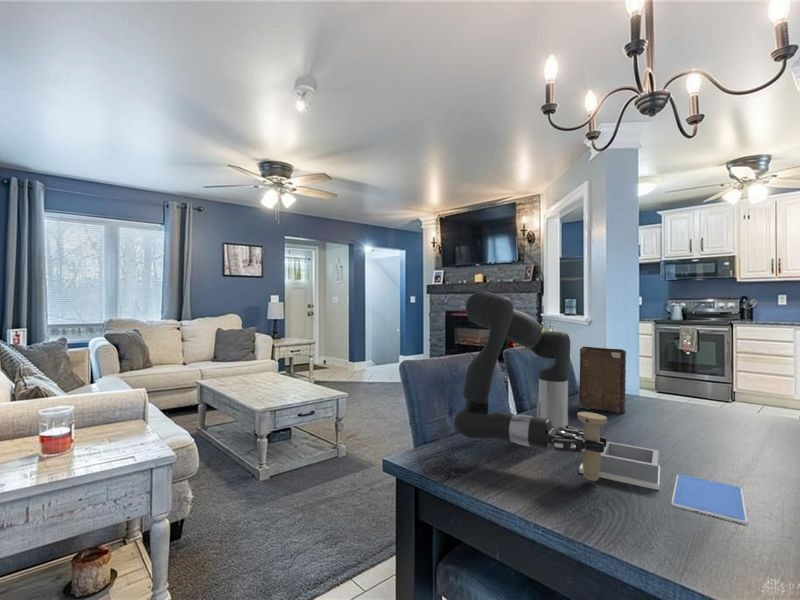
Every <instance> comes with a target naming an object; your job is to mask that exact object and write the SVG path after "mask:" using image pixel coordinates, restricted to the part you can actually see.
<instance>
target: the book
mask: <svg viewBox="0 0 800 600" xmlns="http://www.w3.org/2000/svg"><path fill="white" fill-rule="evenodd" d="M626 355H627V350H624V349H622V348H607V347H605V348H604V347H592V346H581V348H579V395H578V396H579V397H578V399H579V400H578V408H579V407H582V408H589V409H596V410H595V411H598V410H604V411H603V412H606V411H611V412H610V413H612V412H618V413H617V414H623V413H625V412H626V411H627V410H626V391H627V390H626V381H627V380H626V372H627V370H626V368H627V367H626V364H627V360H626V359H627V358H626V357H627V356H626ZM589 409H588V410H589Z"/></svg>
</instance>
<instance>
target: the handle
mask: <svg viewBox="0 0 800 600" xmlns="http://www.w3.org/2000/svg"><path fill="white" fill-rule="evenodd" d="M576 417H577V420H579V421H580V422H581V423H582V424H583V430H584V438H583V439H586V440H592V441H598V442H600V437H601V435H600V433H601V426H604V425H606V424H607V422H608V417H607V416H605V415H602V414H600V413H594V412H589V411H580V412H579V411H578V412H577V416H576ZM581 455H582V456H581V459H582V461H581V462H582V463H583V470H584V472H583V473H582V474H583V478H585V479H586V480H587V481H594V482H596V481H598V480H599V479H600V477H599V474H598V473H599V471H600V463H601V453H600V452H595V451H590V450H585V451H582V450H581ZM582 463H581V464H582Z"/></svg>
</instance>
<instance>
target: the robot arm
mask: <svg viewBox="0 0 800 600" xmlns="http://www.w3.org/2000/svg"><path fill="white" fill-rule="evenodd" d="M465 312H466V316H467V318H468V319H469V320H470V321H471V322H472V323H474V324H475V325H478V326H481V327H483V328H485V329H488V330H489V331H488V332H489V333H488V337H487V340H486V343H485V345H484V346H483V348H482V349H481V351H480V352H478V354H476V356H475V357H474V358H473V360H471V362H470V364H469V365H468V367H467V370H466V374H465V378H464V384H463V391H462V392H463V393H462V395H463V397H464V399H465V401H466V403H465V407H464V408H463V409H462V410H461V411H459V412H458V413H457V414H456V415H455V417H454V419H453V426H454V428H455V430H456V431H457V432H458V433H459V434H460V435H462V436H464V437H466V438H471V439H488V440H489V439H497V440H501V441H505V442H510V443H514V444H516V445H519V446H525V447H530V448H535V449H540V450H544V451H548V450H549V449H550V448H551V446H553V450H554V451H558V452H571V453H582V451H585V450H590V451H595V452H600V453H603V452H604V447H606V444H607V442H608V441H607V438H606V436H600V442H598V441H592V440H586V439H583V438H584V429H583V428H582V429H581V428H578V427H575V426H572V425H571V426H570V425H569V373H570V360H571V359H570V357H571V338H570V336H569V333H567V332H564V331H552V330H551V331H550V330H548V331H547V330H542V326H541V324H540V323H539V322H538V320H537V319H535V318H534V317H532V316H531V315H529V314H527V313H525V312H523V311H521V310H518V309H515V308H514V304H513V301H512V300H511V299H510V298H509V297H507V296H503V295H500V294H496V293H493V292H490V291H482V290H480V291H477V292H474V293H472V295H470V297H468V299H467V301H466V304H465ZM506 339H508V340H509V341H511V342H513V343H515V344H516V345H519V346H522V347H524V348H526V349H528V350H530V351H531V352H532V353H533V354H534V355H536V356H538V357H540V358H542V359H549V360H550V359H551V360H555V361H554V364H553V365H551V366H549V367H546V368H545V367H544V368H541V369H540V370H539V372H538V400H537V401H536V416H532V415H525V414H514V413H508V412H501V411H495V412H492V413H489V405H490V404H489V396H490V392H491V386H492V382H493V376H494V372H495V368H496V365H497V363H498V359H499V356H500V354H501V352H502V348H503V346H504V344H505V340H506Z"/></svg>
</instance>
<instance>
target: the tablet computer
mask: <svg viewBox="0 0 800 600" xmlns="http://www.w3.org/2000/svg"><path fill="white" fill-rule="evenodd" d="M670 504H671V506H672V507H674V508H677V509H682V510H684V511H685V510H686V511H689V512H693V511H694V512H693V513H697V512H698V513H697V514H700V513H703V514H702V515H704V514H706V515H705V516H708V515H711V516H710V517H712V516H715V517H714V518H716V517H719V518H718V519H720V518H723V519H722V520H724V519H727V520H726V521H728V520H731V521H735V522H738V523H737V524H739V523H742V524H741V525H743V524H747V525H749V522H748V521H749V520H748V515H747V508H746V502H745V496H744V491H743V488H741V487H739V486H735V485H733V484H727V483H722V482H719V481H714V480H709V479H703V478H700V477H694V476H688V475H685V474H677V475H676V478H675V482H674V486H673V492H672V495H671V503H670ZM731 521H730V522H731ZM735 522H734V523H735Z"/></svg>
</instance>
